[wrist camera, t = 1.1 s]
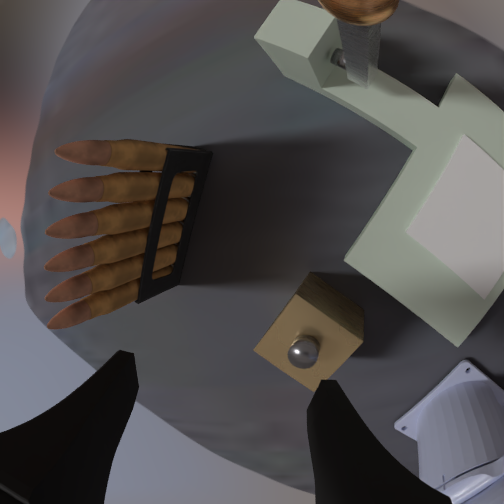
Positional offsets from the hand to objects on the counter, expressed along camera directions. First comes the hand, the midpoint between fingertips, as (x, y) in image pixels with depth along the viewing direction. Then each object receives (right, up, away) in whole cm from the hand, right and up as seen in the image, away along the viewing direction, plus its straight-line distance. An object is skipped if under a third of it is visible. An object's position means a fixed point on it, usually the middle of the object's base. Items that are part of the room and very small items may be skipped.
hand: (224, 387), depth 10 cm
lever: (+7, +15, +2) cm, 16 cm away
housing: (+6, +1, +9) cm, 11 cm away
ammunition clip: (-4, +8, +12) cm, 15 cm away
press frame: (+11, +10, +5) cm, 16 cm away
